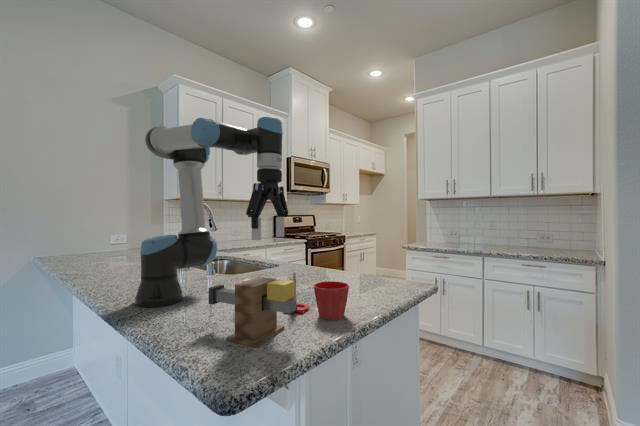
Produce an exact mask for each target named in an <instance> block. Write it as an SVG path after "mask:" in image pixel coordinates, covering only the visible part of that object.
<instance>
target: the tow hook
mask: <svg viewBox="0 0 640 426" xmlns="http://www.w3.org/2000/svg"><path fill="white" fill-rule="evenodd" d="M296 273H297V272H293V273H292V280H291V281H295V297H293V298H296V299H297V278H296V276H297V274H296ZM299 306H300V307H299ZM298 307H299V308H298ZM309 310H310V305H308V304H305V303H299V302H298V303H297V302H296V310H295V311H294V312H292V313H291V314H294V313H297V314H301V315H302V314H303V315H304V314H305V312H308V311H309Z"/></svg>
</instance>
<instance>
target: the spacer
mask: <svg viewBox="0 0 640 426" xmlns="http://www.w3.org/2000/svg"><path fill="white" fill-rule="evenodd" d="M276 279H277V278H276ZM293 297H295V281H292V280H290V279H281V278H278V279H277V280H275V281H272V282H269V283H267V299H268V300H275V301H282V302H285V301H287V300H289V299H291V298H293Z"/></svg>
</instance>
